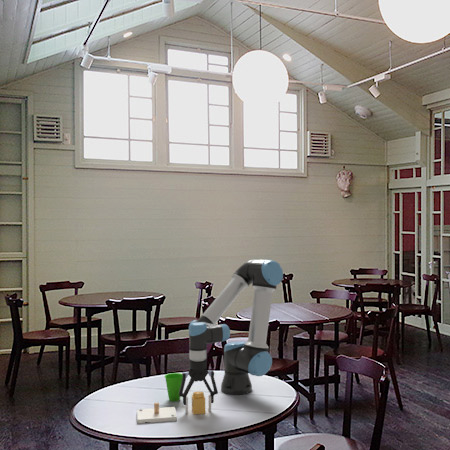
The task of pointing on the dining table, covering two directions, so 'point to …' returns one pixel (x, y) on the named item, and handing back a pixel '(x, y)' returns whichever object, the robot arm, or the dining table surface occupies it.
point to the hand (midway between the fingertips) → (198, 411)
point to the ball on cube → (198, 403)
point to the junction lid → (156, 414)
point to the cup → (173, 385)
